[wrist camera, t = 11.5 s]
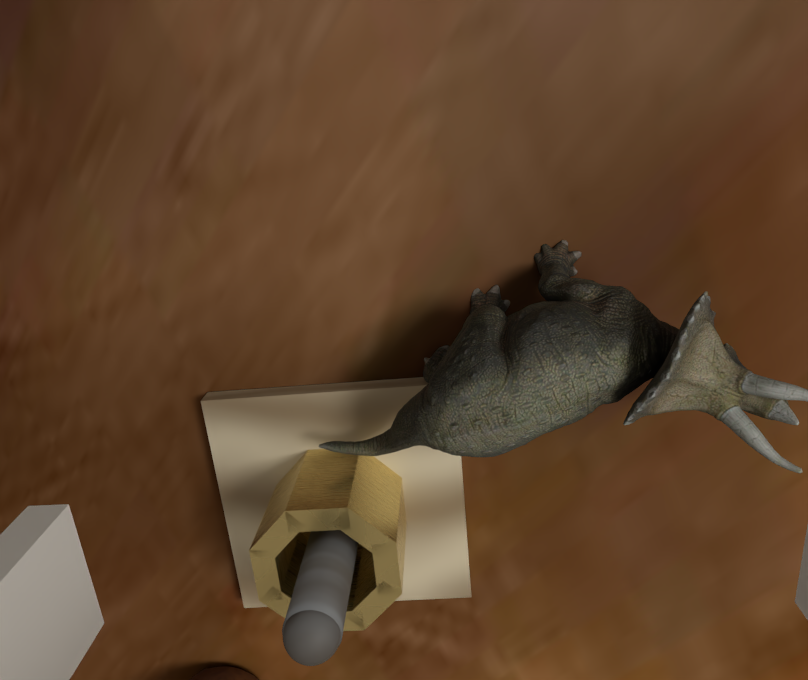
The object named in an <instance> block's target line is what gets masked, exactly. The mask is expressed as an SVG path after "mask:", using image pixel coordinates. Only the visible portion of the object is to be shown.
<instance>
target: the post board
mask: <svg viewBox="0 0 808 680" xmlns="http://www.w3.org/2000/svg"><path fill="white" fill-rule="evenodd" d="M427 384H428V383H427V382H426V381H425V379H424V377H416V378H402V379H388V380H374V381H359V382H345V383H331V384H317V385H303V386H289V387H275V388H260V389H246V390H232V391H218V392H207V394H206V395H205V396H204V397H203V399H202V400H201V405H202V410H203V415H204V420H205V424H206V429H207V434H208V439H209V443H210V448H211V453H212V458H213V462H214V467H215V472H216V477H217V481H218V486H219V491H220V496H221V500H222V505H223V510H224V515H225V519H226V524H227V529H228V533H229V538H230V543H231V548H232V552H233V557H234V562H235V567H236V571H237V576H238V581H239V586H240V590H241V595H242V600H243V605H244V608H252V607H268V606H266V605H265V604H263V603H262V602H260V601H259V598H258V593H257V588H256V583H255V578H254V573H253V568H252V563H251V558H250V553H249V549H250V547H251V545H252V542H253V540H254V537H255V535H256V533H257V530H258V528H259V526H260V523H261V521H262V518H263V516H264V514H265V511H266V509H267V506H268V504H269V502H270V499H271V497H272V495H273V492H274V490H275V487H276V485H277V484H278V483H279V482H280V481H281V479H282V478H283V477H284V476H285V475H286V474H287V473H288V472H289V470H290V469H291V468H292V467H293V466H294V465H295V464H296V463H297V461H298V460H299V459H300V458H301V457H302V456H303V455H304V454H305V452H306V451H307V450H313V449H323V448H320V447H319V444H322V443H326V442H330V441H353V442H356V441H363V440H367V439H370V438H373V437H375V436H378V435H380V434H382V433H384V432H385V431H387V430H388V429H390V428H391V426H392V424H393V421H394V419H395V417H396V415H397V413H398V412H399V410H400V409H401V408H402V407H403V406H404V405H405V404H406V403H407V402H408V401H409V400H410V399H411V398H412V397H414V396H415V395H416V394H417V393H418V392H420V391H421V390H422V389H423V388H424V387H425V386H426V385H427ZM374 457H375V458H377V459H378V460H379V461H381V462H382V463H383V464H385V465H386V466H387V467H389V468H390V469H391V470H393V471H394V472H395V473H397V474H398V475H399V476H401V477H402V484H403V493H404V503H405V512H406V522H407V525H406V540H405V556H404V572H403V587H402V594H401V595H400V596H399V597H398V598H397V599H396V600H395V601H400V600H422V599H443V598H464V597H471V585H470V572H469V558H468V545H467V531H466V517H465V504H464V490H463V477H462V463H461V456H455V455H451V454H448V453H445V452H442V451H440V450H434V449H432V448H430V447H427V446H420V445H419V446H413V447H410V448H407V449H403V450H400V451H397V452H393V453H389V454H384V455H379V456H374ZM357 548H358V542H356V541H355V540H354V539H352V538H351V537H349V536H348V535H347V534H345V533H344V532H342V531H341V530H328V531H311V532H310V535H309V539H308V542H307V546H306V549H305V552H304V556H303V559H302V563H301V566H300V570H299V573H298V576H297V580H296V583H295V587H294V590H293V594H292V597H291V600H290V604H289V607H288V611H287V614H286V618H285V621H284V624H283V629H282V633H283V642H284V646H285V649H286V651H287V653H288V654H289V656H290V657H291V658H292V659H293V660H295V661H296V662H298V663H300V664H302V665H307V666H314V665H318V664H321V663H323V662H325V661H327V660H328V659H329V658H330V657H331V656H332V655H333V654H334V653H335V651H336V650H337V648H338V646H339V645H340V643H341V640H342V635H343V629H344V623H345V617H346V612H347V606H348V600H349V594H350V589H351V583H352V577H353V571H354V565H355V560H356V554H357Z"/></svg>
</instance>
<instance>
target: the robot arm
mask: <svg viewBox="0 0 808 680" xmlns="http://www.w3.org/2000/svg"><path fill="white" fill-rule="evenodd" d="M795 603H796V604H797V606H798V607H799V608H800V610H801V611H802V613H803V614H804V615H805V617H806V618H807V620H808V526H807V532H806V538H805V544H804V550H803V556H802V562H801V568H800V574H799V580H798V586H797V592H796V598H795ZM103 624H104V621H103V617H102V614H101V611H100V607H99V604H98V601H97V597H96V594H95V591H94V587H93V584H92V581H91V577H90V574H89V571H88V567H87V564H86V560H85V557H84V554H83V550H82V547H81V544H80V540H79V537H78V534H77V530H76V527H75V524H74V520H73V517H72V514H71V510H70V507H69V504H64V505H41V506H28V507H27V508H26V509H25V510H24V511H23V512H22V513H21V514H20V515H19V516H18V517H17V518H16V519H15V520H14V521H13V522H12V523H11V524H10V525H9V526H8V527H7V528H6V529H5V530H4V531H3V532H2V534H1V535H0V680H69V679H70V678H71V676H72V675H73V673H74V671H75V670H76V668H77V667H78V665H79V663H80V662H81V660H82V658H83V657H84V655H85V654H86V652H87V650H88V649H89V647H90V645H91V644H92V642H93V641H94V639H95V637H96V636H97V634H98V632H99V631H100V629H101V628H102V626H103Z"/></svg>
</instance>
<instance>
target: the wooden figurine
mask: <svg viewBox="0 0 808 680" xmlns="http://www.w3.org/2000/svg"><path fill="white" fill-rule="evenodd" d="M189 680H258V679H257V678H256V677H255V676H254V675H252V674H250V673H248V672H246V671H244V670H242V669H239V668H234V667H213V668H208V669H203V670H202V671H200V672H199V673H197V674H196V675H194V676H193V677H192V678H191V679H189Z"/></svg>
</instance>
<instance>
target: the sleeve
mask: <svg viewBox="0 0 808 680" xmlns="http://www.w3.org/2000/svg"><path fill="white" fill-rule="evenodd" d="M406 525H407V522H406V512H405V503H404V493H403V484H402V477H401V476H399V475H398V474H397V473H395V472H394V471H393V470H391V469H390V468H389V467H387V466H386V465H385V464H383V463H382V462H381V461H379V460H378V459H377V458H375V457H374V456H360V455H350V454H342V453H338V452H332V451H329V450H326V449H313V450H307V451H306V452H305V454H304V455H303V456H302V457H301V458H300V459H299V460H298V461H297V463H296V464H295V465H294V466H293V467H292V468H291V469H290V470H289V472H288V473H287V474H286V475H285V476H284V477H283V478H282V479H281V481H280V482H279V483H278V484H277V485H276V487H275V490H274V492H273V495H272V497H271V499H270V502H269V504H268V506H267V509H266V511H265V514H264V516H263V518H262V521H261V523H260V526H259V528H258V530H257V533H256V535H255V537H254V540H253V542H252V545H251V547H250V549H249V553H250V558H251V563H252V568H253V573H254V578H255V583H256V588H257V593H258V598H259V601H260V602H262V603H263V604H265V605H266V606H268V607H269V608H271V609H272V610H274V611H275V612H277V613H278V614H279V615H281V616H282V617H284V618H286V614H287V611H288V607H289V604H290V600H291V597H292V594H293V590H294V587H295V583H296V580H297V576H298V573H299V570H300V566H301V563H302V559H303V556H304V552H305V549H306V546H307V542H308V539H309V535H310V532H311V531H328V530H341V531H342V532H344V533H345V534H347V535H348V536H349V537H351V538H352V539H354V540H355V541H356V542H358V548H357V554H356V560H355V565H354V571H353V577H352V583H351V589H350V594H349V600H348V606H347V612H346V617H345V623H344V629H343V631H355V630H365V629H366V628H367V627H368V626H369V625H370V624H371V623H372V622H373V621H374V620H375V619H376V618H377V617H379V616H380V615H381V614H382V613H383V612H384V611H385V610H386V609H387V608H388V607H389V606H390V605H391V604H392V603H393V602H394V601H395V600H396V599H397V598H398V597H399V596H400V595H401V594H402V587H403V572H404V556H405V540H406Z"/></svg>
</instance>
